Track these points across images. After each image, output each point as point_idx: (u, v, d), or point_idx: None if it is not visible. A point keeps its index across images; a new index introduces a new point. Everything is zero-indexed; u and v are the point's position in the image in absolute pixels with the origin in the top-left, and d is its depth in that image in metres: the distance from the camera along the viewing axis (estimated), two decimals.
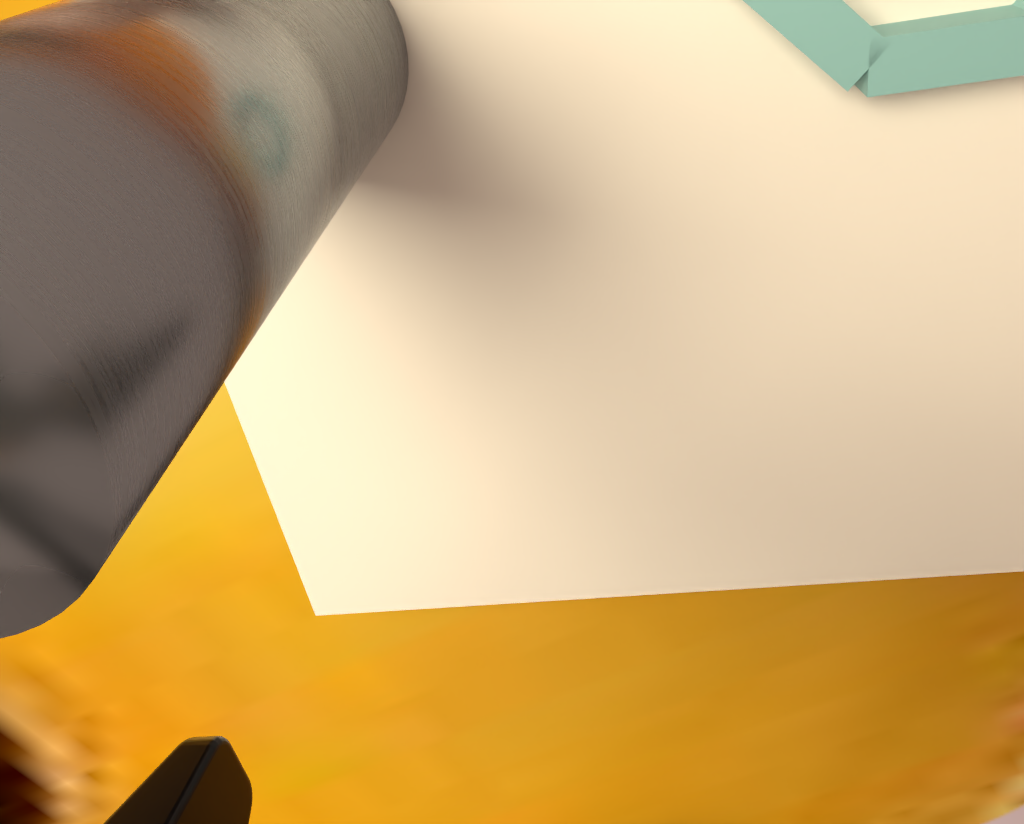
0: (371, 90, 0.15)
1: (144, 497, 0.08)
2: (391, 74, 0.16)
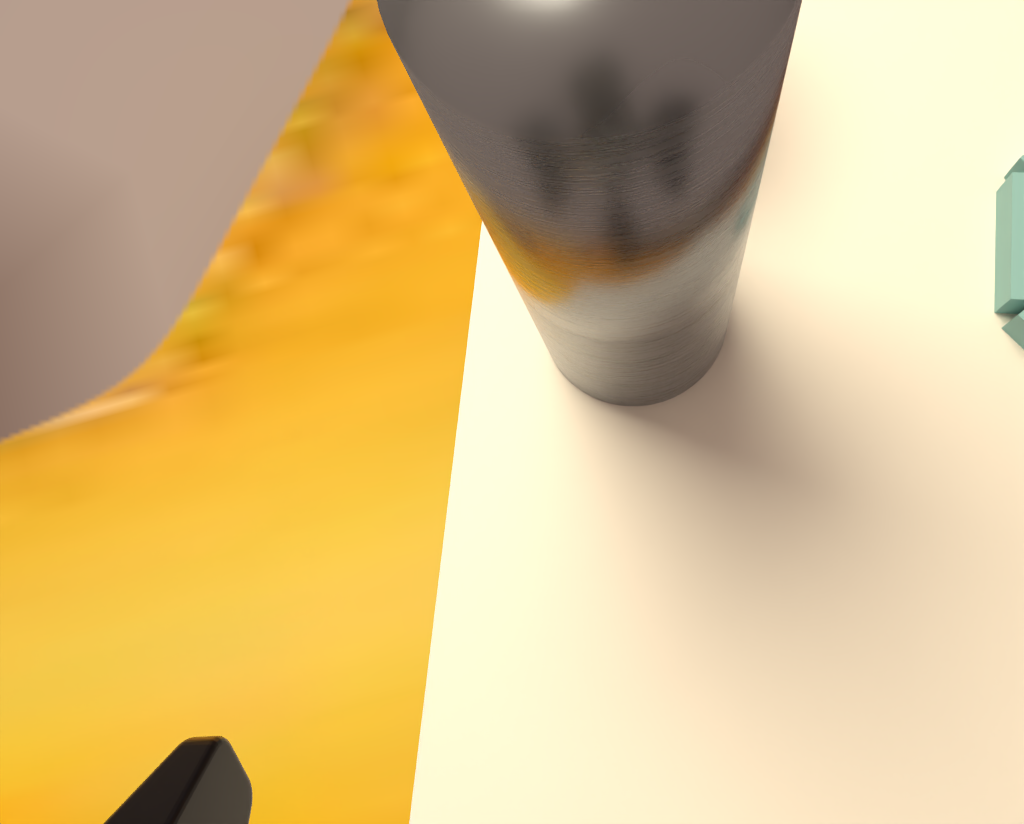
0: None
1: (750, 99, 0.09)
2: None
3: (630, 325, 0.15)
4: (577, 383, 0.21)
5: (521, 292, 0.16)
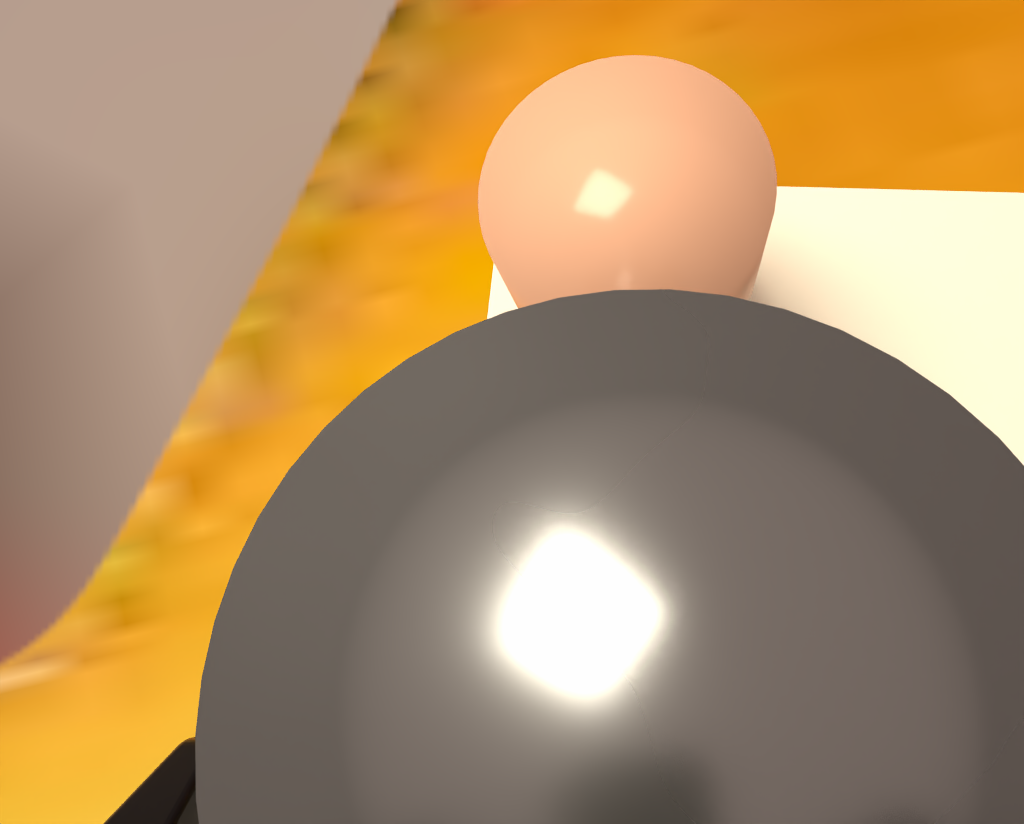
0: None
1: None
2: None
3: None
4: None
5: None
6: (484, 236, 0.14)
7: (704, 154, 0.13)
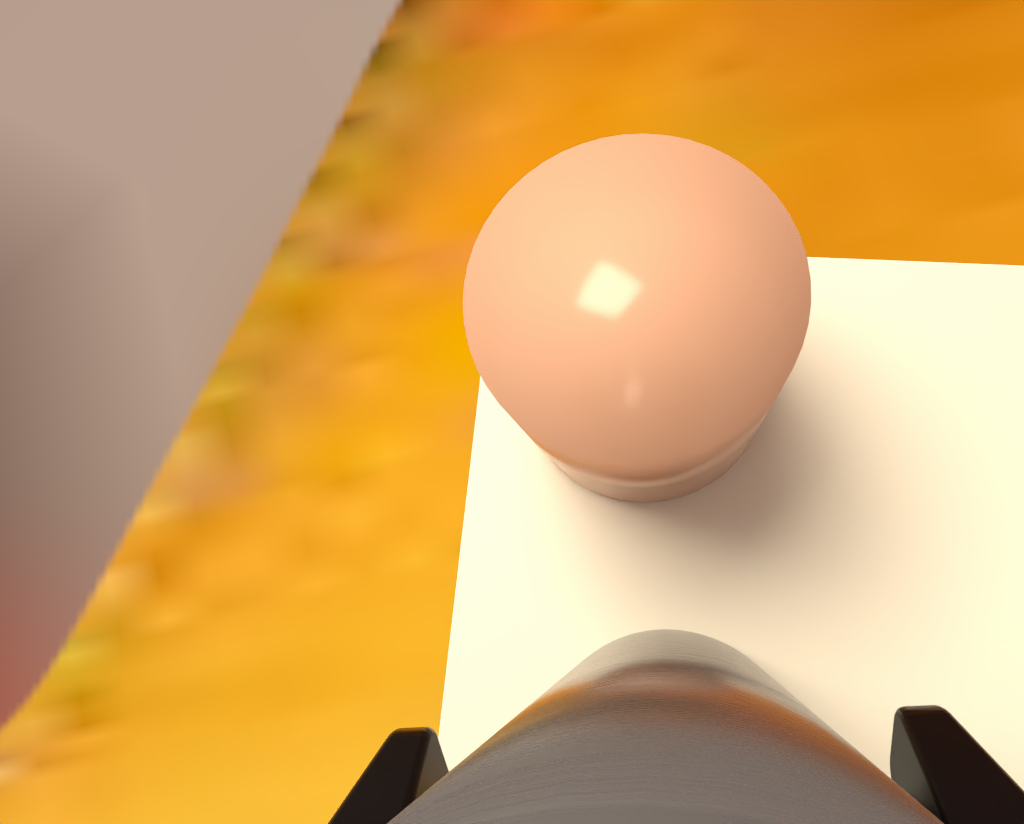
0: None
1: None
2: None
3: None
4: None
5: None
6: (470, 345, 0.12)
7: (725, 253, 0.11)
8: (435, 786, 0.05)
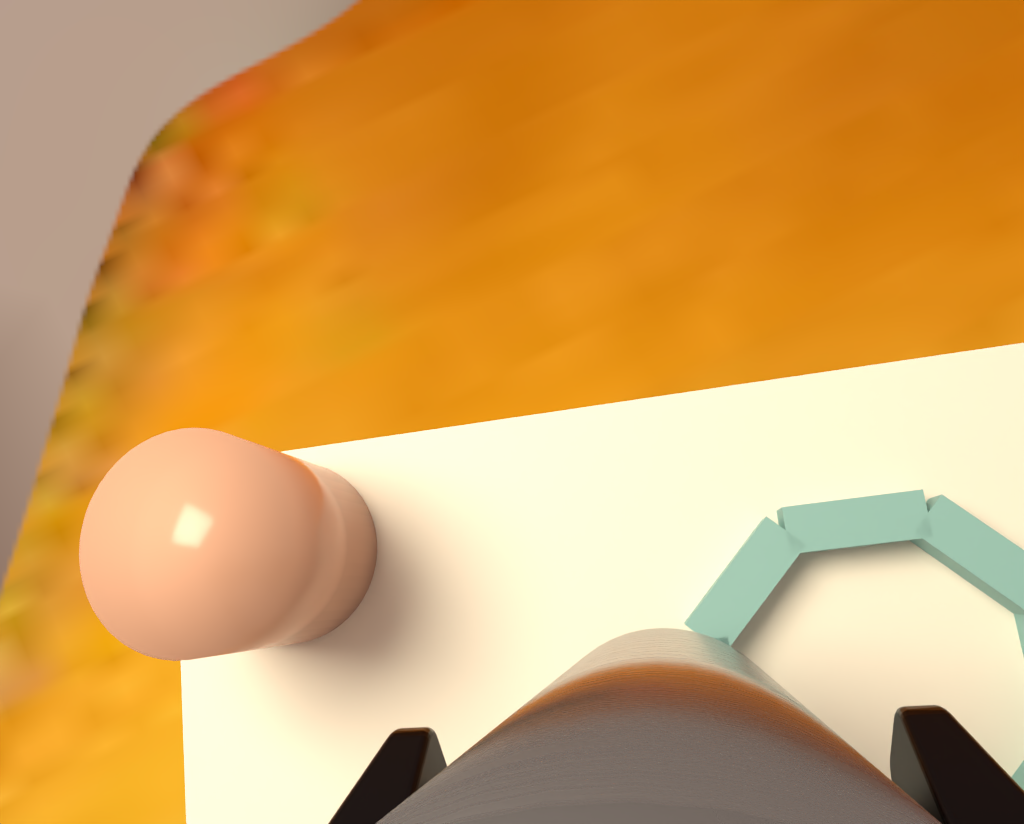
0: None
1: None
2: None
3: None
4: None
5: None
6: (88, 597, 0.17)
7: (238, 503, 0.17)
8: (430, 782, 0.05)
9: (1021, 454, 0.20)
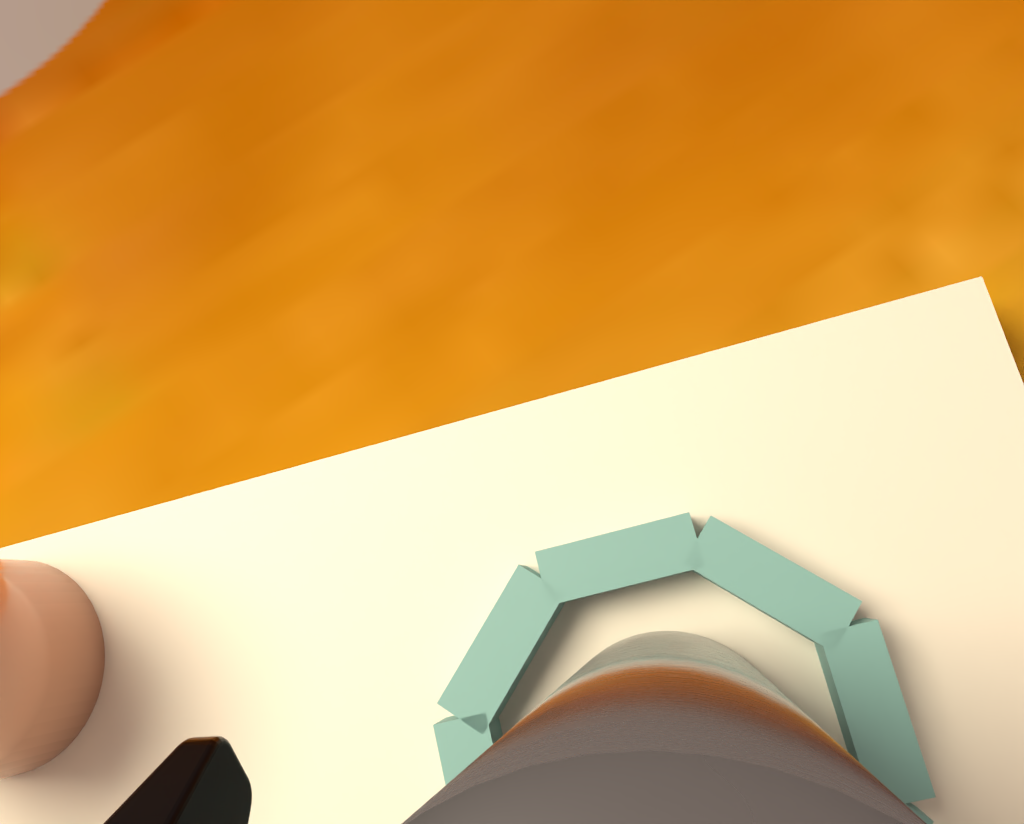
0: None
1: None
2: None
3: None
4: None
5: None
6: None
7: None
8: (487, 752, 0.06)
9: (805, 456, 0.17)
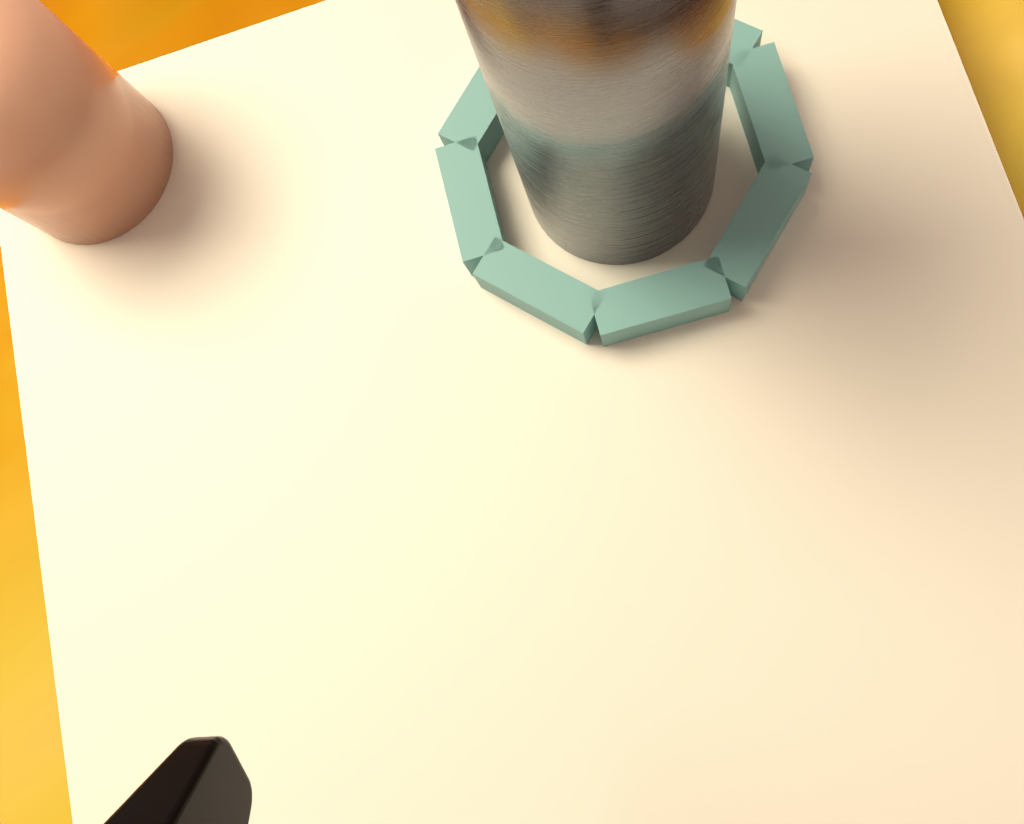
0: None
1: None
2: (717, 154, 0.19)
3: (610, 122, 0.14)
4: (561, 238, 0.20)
5: (499, 103, 0.15)
6: None
7: None
8: None
9: None
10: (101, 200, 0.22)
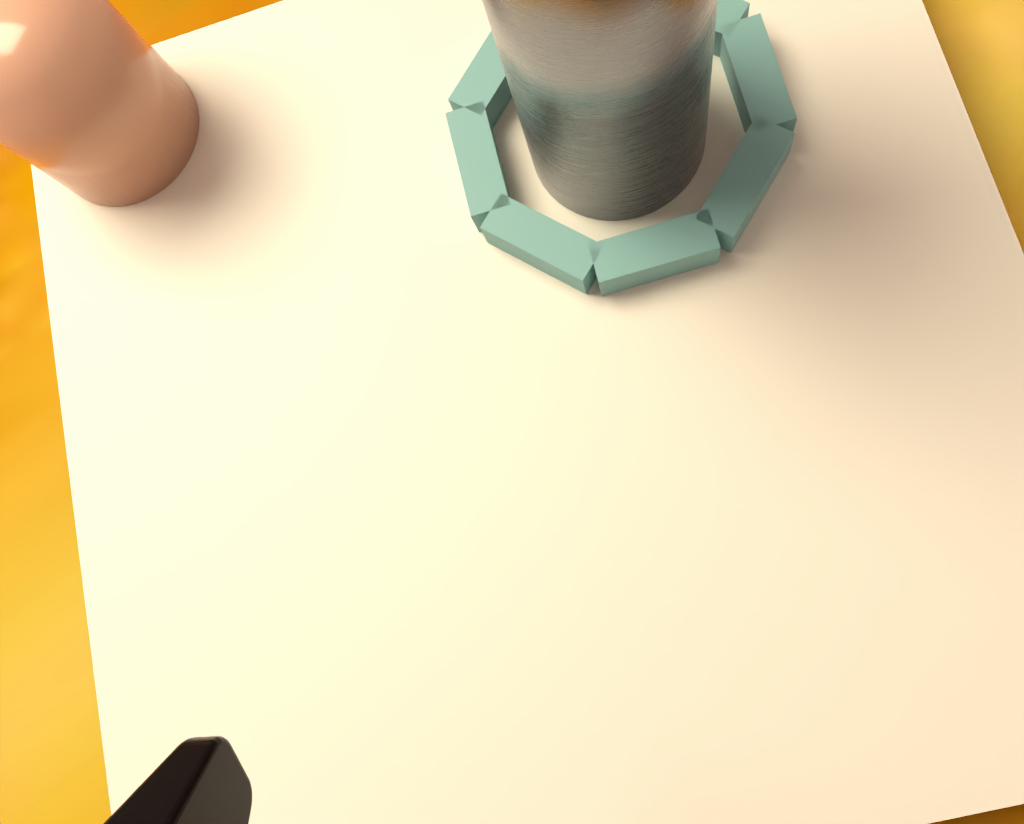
0: (711, 70, 0.19)
1: None
2: (707, 114, 0.21)
3: (607, 67, 0.16)
4: (563, 195, 0.22)
5: (507, 54, 0.17)
6: None
7: None
8: None
9: None
10: (133, 161, 0.23)
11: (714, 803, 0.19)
